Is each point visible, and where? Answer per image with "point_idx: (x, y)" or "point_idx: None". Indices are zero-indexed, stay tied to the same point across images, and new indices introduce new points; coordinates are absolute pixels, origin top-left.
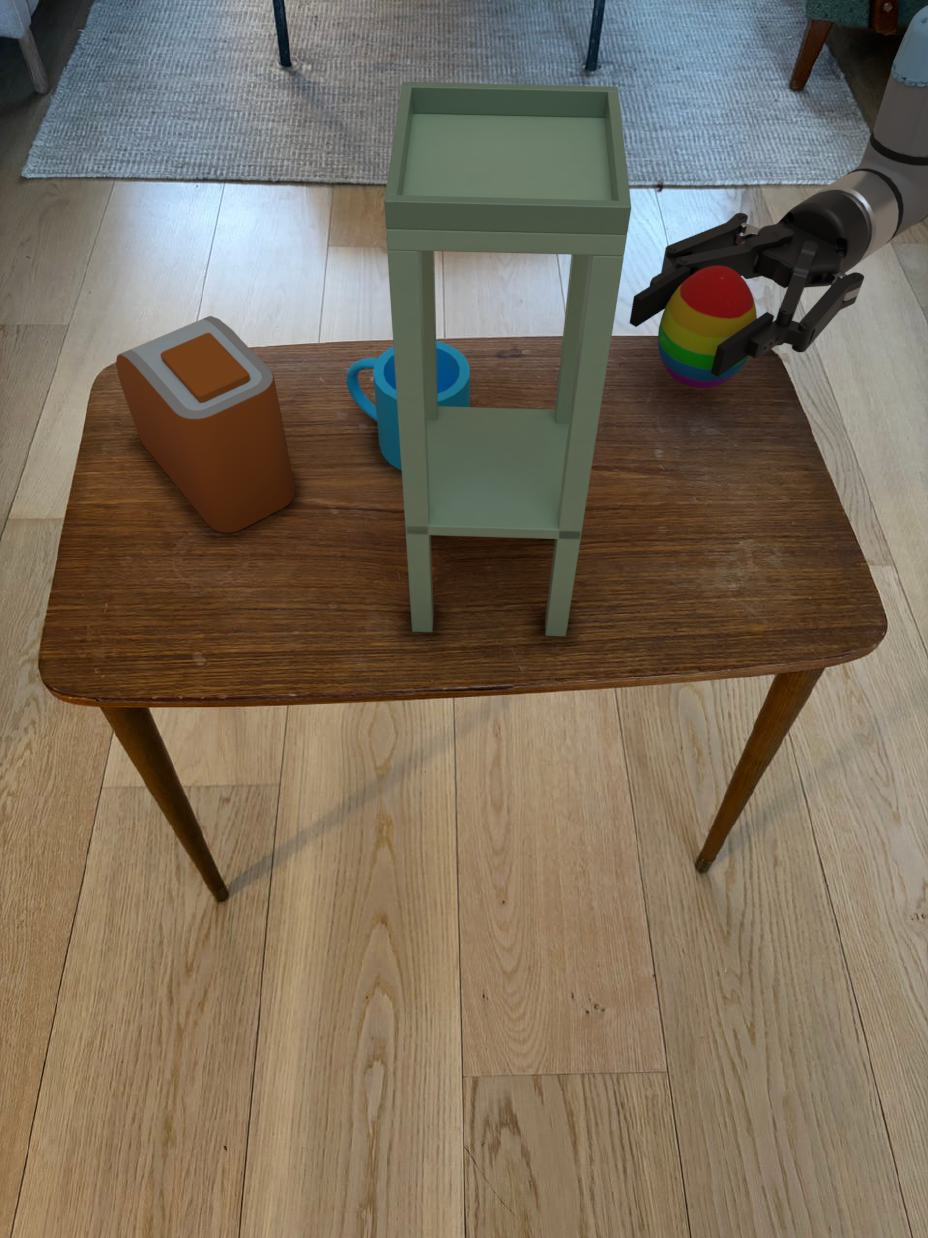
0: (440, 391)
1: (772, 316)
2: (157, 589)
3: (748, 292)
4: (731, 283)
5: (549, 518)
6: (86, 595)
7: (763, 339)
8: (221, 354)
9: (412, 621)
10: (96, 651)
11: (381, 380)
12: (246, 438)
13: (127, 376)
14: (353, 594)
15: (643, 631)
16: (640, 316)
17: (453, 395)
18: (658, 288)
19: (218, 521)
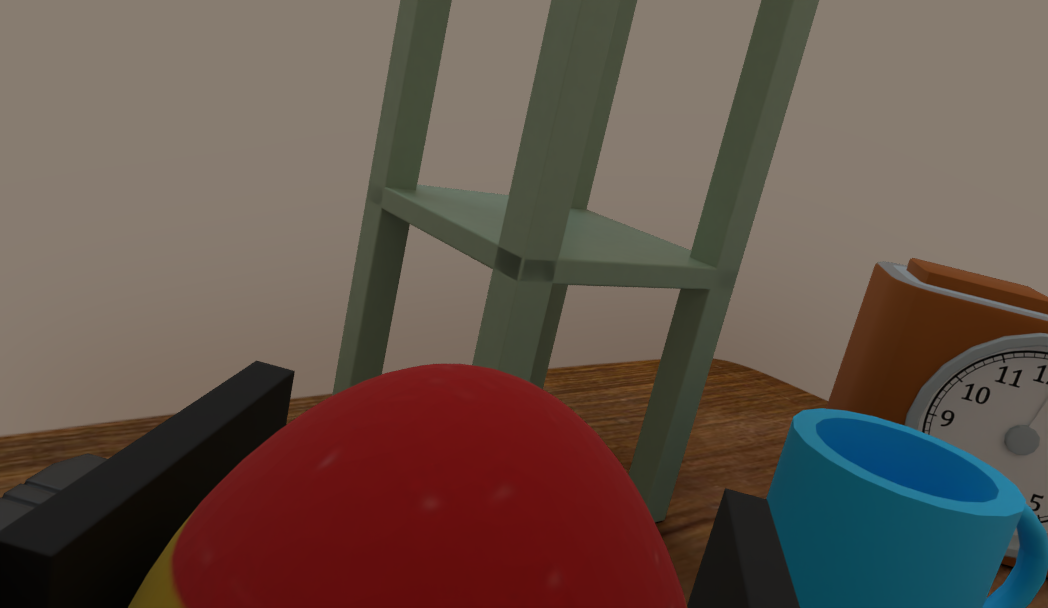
0: None
1: (6, 530)
2: (777, 412)
3: (243, 493)
4: (380, 378)
5: (421, 188)
6: (811, 402)
7: (58, 480)
8: (989, 283)
9: None
10: (738, 375)
11: (912, 431)
12: (862, 329)
13: None
14: (619, 432)
15: None
16: (696, 584)
17: (793, 427)
18: (741, 558)
19: None
